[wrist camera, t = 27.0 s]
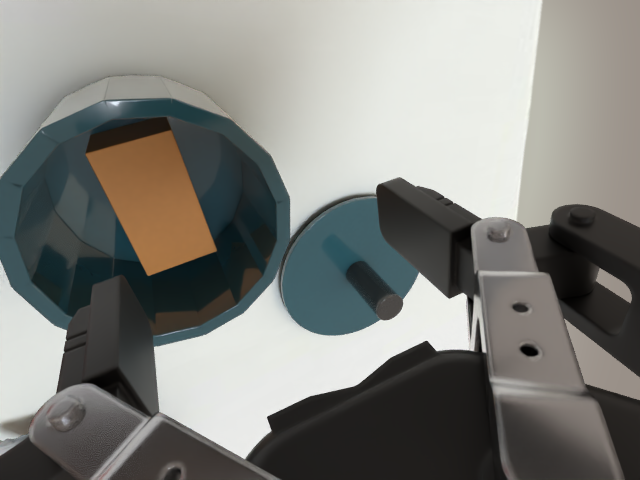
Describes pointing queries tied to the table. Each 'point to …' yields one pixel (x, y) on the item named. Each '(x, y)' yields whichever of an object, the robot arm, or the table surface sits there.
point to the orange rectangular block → (151, 193)
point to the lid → (344, 271)
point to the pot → (105, 228)
